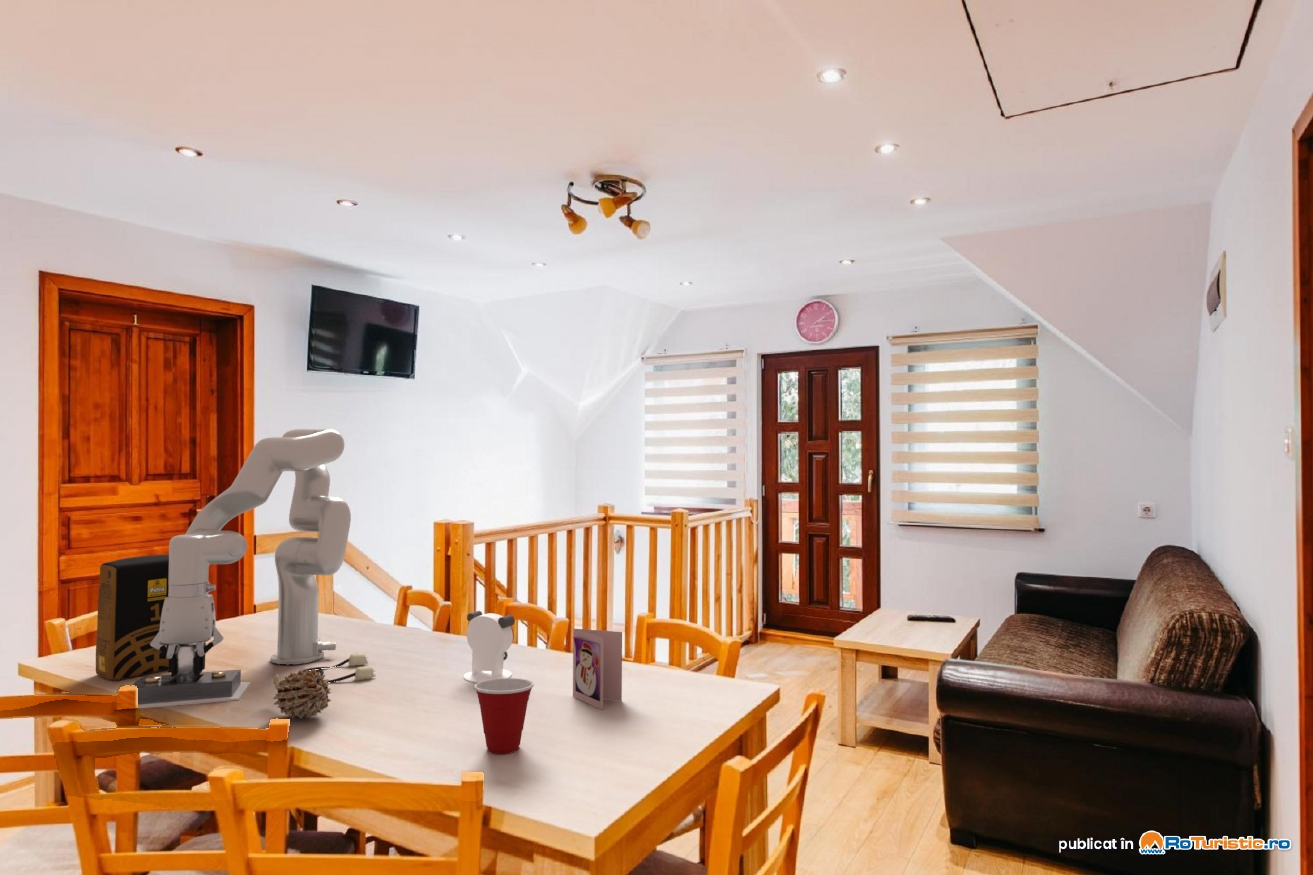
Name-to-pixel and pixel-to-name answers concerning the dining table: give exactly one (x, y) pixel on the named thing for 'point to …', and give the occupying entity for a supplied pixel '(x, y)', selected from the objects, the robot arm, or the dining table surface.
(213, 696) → the gray slotted block
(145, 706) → the mat
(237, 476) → the robot arm
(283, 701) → the pine cone
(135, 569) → the black product box
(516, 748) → the plastic cup
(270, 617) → the dining table surface
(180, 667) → the pin
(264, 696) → the dining table surface
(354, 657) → the cable
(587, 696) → the greeting card
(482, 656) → the panda figurine
